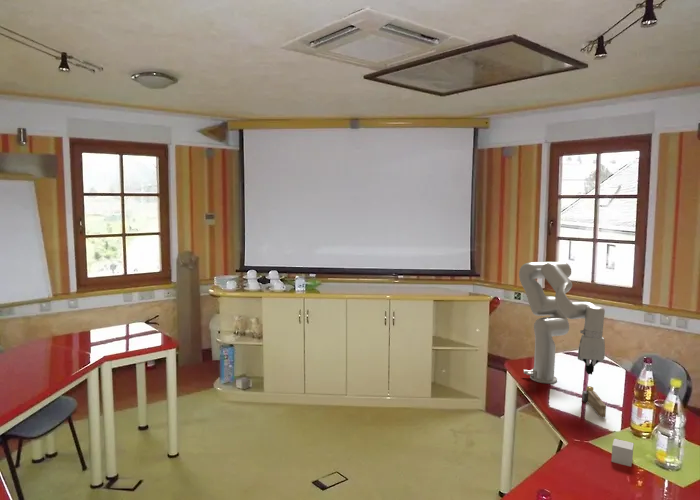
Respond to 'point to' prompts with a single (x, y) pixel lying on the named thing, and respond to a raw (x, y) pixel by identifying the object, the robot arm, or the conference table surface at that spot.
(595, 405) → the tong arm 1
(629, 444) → the grey cube
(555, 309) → the robot arm
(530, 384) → the conference table surface
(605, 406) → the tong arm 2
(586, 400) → the tong hinge
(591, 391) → the lock button
